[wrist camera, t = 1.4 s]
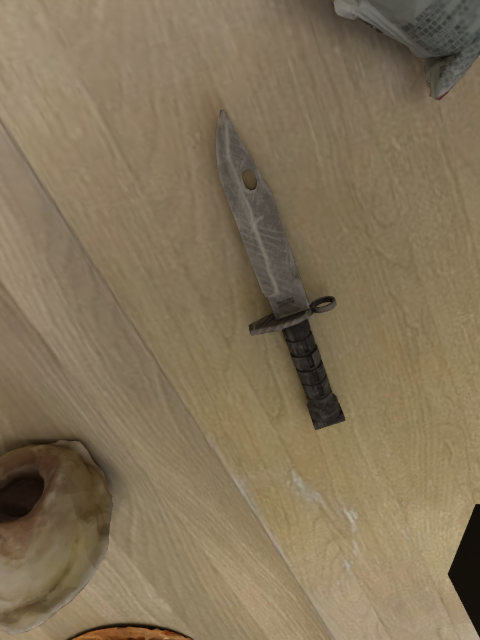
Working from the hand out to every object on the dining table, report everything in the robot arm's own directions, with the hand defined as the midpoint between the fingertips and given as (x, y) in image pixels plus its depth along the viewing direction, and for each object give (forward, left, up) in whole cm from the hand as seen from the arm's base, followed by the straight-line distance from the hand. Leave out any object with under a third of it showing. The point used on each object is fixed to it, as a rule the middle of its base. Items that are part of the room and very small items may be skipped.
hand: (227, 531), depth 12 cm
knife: (-4, 0, -15) cm, 15 cm away
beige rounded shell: (+16, +2, -15) cm, 22 cm away
